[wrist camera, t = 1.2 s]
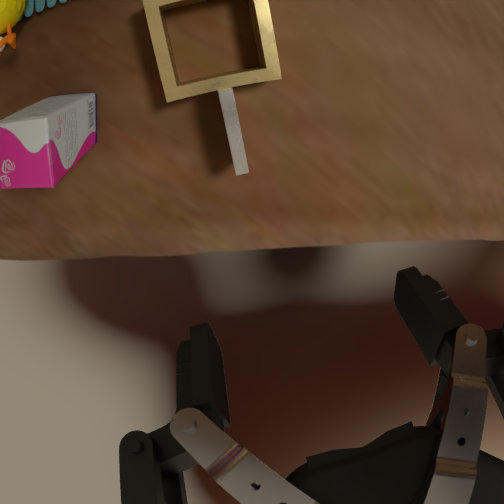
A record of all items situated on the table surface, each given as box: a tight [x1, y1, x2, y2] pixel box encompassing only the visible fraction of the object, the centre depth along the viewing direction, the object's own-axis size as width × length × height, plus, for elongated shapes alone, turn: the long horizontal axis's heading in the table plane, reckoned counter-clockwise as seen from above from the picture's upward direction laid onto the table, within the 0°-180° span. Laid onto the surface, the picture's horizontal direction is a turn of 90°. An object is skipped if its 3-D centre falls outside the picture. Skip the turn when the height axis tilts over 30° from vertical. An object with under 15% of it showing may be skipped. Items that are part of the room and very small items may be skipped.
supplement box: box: [0, 93, 97, 189], centre depth 23 cm, size 6×6×12 cm
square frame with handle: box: [143, 0, 282, 175], centre depth 23 cm, size 26×10×5 cm, turn 10°
